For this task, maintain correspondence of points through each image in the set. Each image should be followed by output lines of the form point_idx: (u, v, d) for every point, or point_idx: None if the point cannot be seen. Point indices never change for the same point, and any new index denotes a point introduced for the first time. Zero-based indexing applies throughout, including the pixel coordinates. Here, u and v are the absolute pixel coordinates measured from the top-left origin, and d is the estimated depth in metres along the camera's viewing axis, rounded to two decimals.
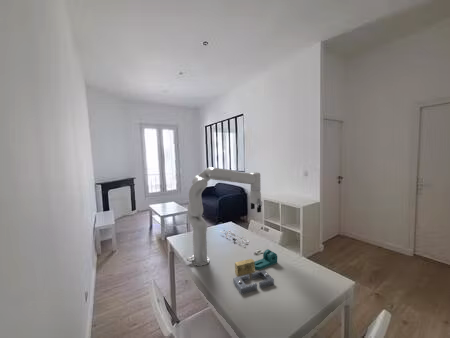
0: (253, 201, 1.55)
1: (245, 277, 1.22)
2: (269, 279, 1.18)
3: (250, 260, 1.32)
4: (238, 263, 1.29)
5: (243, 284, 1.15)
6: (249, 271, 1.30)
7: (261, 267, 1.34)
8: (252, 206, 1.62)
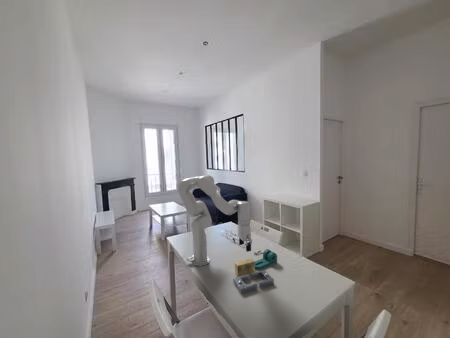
0: (241, 237, 1.26)
1: (245, 277, 1.22)
2: (269, 279, 1.18)
3: (250, 260, 1.32)
4: (238, 263, 1.29)
5: (243, 284, 1.15)
6: (249, 271, 1.30)
7: (261, 267, 1.34)
8: (241, 241, 1.33)
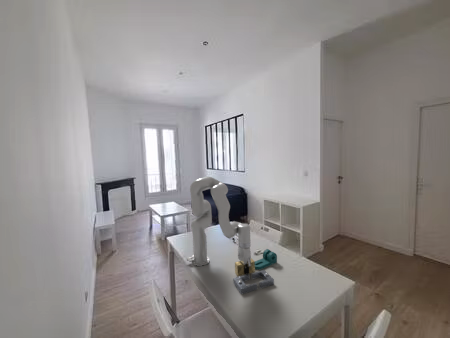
0: (241, 260, 1.28)
1: (245, 277, 1.22)
2: (269, 279, 1.18)
3: None
4: (238, 263, 1.29)
5: (243, 284, 1.15)
6: (249, 271, 1.30)
7: (261, 267, 1.34)
8: None
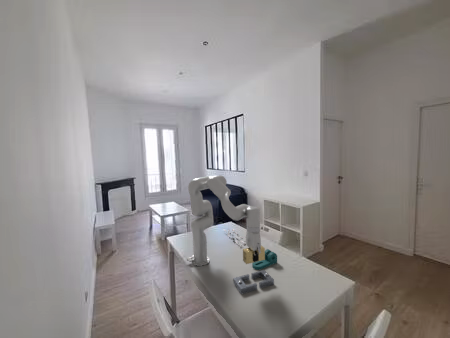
0: (250, 246, 1.15)
1: (245, 277, 1.22)
2: (269, 279, 1.18)
3: None
4: (246, 249, 1.17)
5: (243, 284, 1.15)
6: (259, 258, 1.18)
7: (261, 267, 1.34)
8: None
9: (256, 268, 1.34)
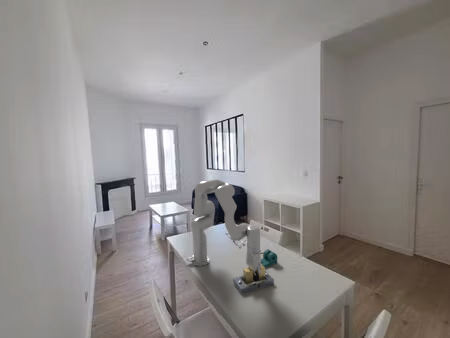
0: (250, 266, 1.16)
1: None
2: (269, 279, 1.18)
3: None
4: (247, 269, 1.18)
5: (243, 284, 1.15)
6: (259, 278, 1.19)
7: None
8: None
9: None
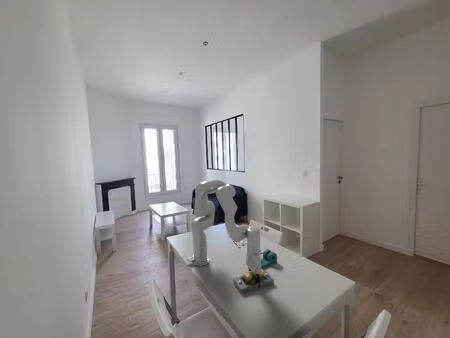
0: (250, 267, 1.17)
1: None
2: (269, 279, 1.18)
3: None
4: (247, 273, 1.18)
5: (243, 284, 1.15)
6: None
7: (261, 267, 1.34)
8: None
9: None
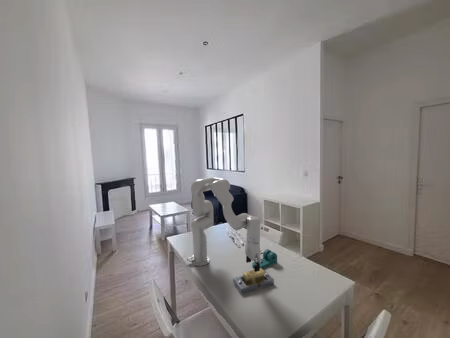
0: (249, 256, 1.16)
1: None
2: (269, 279, 1.18)
3: (260, 270, 1.21)
4: (247, 273, 1.18)
5: (243, 284, 1.15)
6: None
7: (261, 267, 1.34)
8: (248, 259, 1.23)
9: None
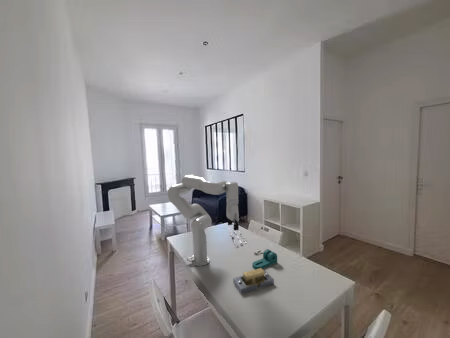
0: (229, 216, 1.29)
1: None
2: (269, 279, 1.18)
3: (260, 270, 1.21)
4: (247, 273, 1.18)
5: (243, 284, 1.15)
6: None
7: (261, 267, 1.34)
8: (229, 222, 1.36)
9: (256, 268, 1.34)
